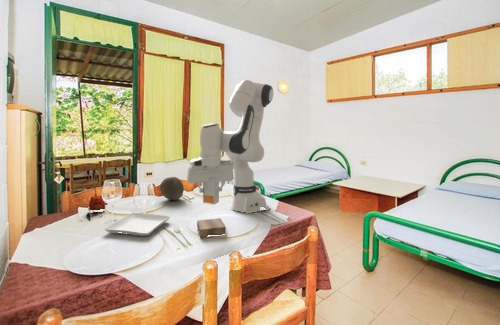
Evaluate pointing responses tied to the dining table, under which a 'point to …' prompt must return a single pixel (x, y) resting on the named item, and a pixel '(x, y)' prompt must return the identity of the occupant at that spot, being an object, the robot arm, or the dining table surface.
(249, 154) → the robot arm
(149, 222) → the salad plate
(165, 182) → the dark brown ball
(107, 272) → the dining table surface
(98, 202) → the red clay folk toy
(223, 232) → the walnut base
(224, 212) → the dining table surface
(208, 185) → the skincare box
